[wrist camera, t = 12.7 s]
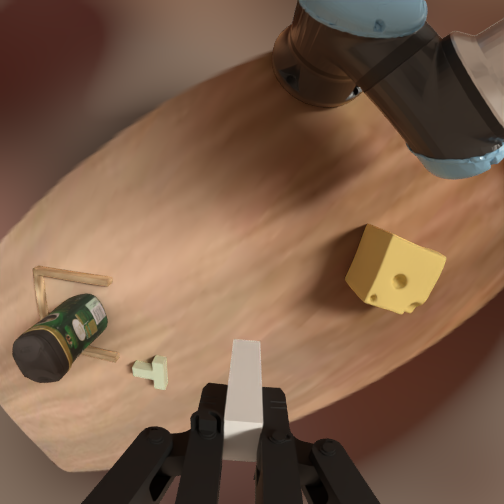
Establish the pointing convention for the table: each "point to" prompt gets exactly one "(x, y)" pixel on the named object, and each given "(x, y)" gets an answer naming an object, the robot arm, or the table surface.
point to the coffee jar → (59, 338)
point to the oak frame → (77, 277)
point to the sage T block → (153, 371)
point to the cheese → (393, 271)
